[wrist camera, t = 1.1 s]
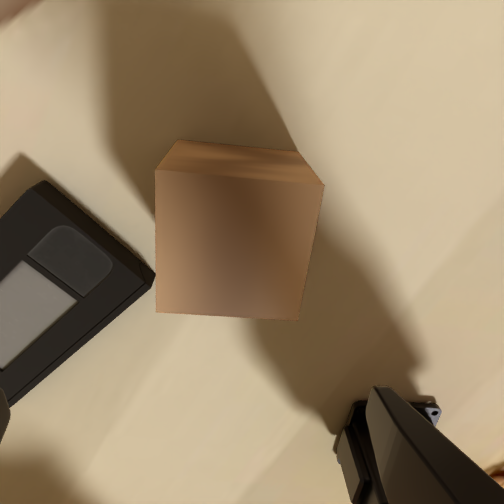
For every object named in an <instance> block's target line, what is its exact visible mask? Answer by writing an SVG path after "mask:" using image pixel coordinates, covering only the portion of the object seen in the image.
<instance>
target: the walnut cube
mask: <svg viewBox="0 0 504 504" xmlns="http://www.w3.org/2000/svg"><path fill="white" fill-rule="evenodd" d="M324 186H325V185H324V184H323V183H322V181H321V180H320V179H319V178H318V176H317V175H316V174H315V172H314V171H313V170H312V169H311V167H310V166H309V165H308V164H307V162H306V161H305V160H304V158H303V157H302V156H301V155H300V153H299V152H295V151H285V150H275V149H266V148H256V147H246V146H236V145H226V144H216V143H206V142H197V141H187V140H177V141H176V142H175V144H174V145H173V146H172V148H171V149H170V150H169V152H168V153H167V154H166V156H165V157H164V158H163V160H162V161H161V162H160V164H159V165H158V166H157V167H156V169H155V245H156V312H159V313H176V314H193V315H210V316H226V317H243V318H260V319H277V320H293V321H298V317H299V312H300V306H301V301H302V296H303V291H304V286H305V281H306V276H307V271H308V266H309V261H310V256H311V251H312V246H313V241H314V236H315V231H316V226H317V221H318V216H319V211H320V206H321V201H322V196H323V191H324Z"/></svg>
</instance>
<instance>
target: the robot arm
mask: <svg viewBox="0 0 504 504" xmlns="http://www.w3.org/2000/svg"><path fill="white" fill-rule="evenodd" d="M441 412H442V411H441V409H440V408H439V406H438V405H437V404H427V403H407V402H406V401H405V400H404V399H403V398H402V397H401V396H400V395H399V394H397V393H396V392H395V391H394V390H393V389H392V388H390V387H389V386H373V387H372V388H371V391H370V395H369V399H368V401H357V402H355V403H354V404H353V405H352V408H351V412H350V415H349V418H348V421H347V424H346V426H345V427H344V428H343V431H342V434H341V437H340V440H339V444H338V447H337V452H338V453H337V456H336V457H337V461H338V463H339V464H341V467H342V471H343V474H344V478H345V482H346V486H347V489H348V493H349V497H350V500H351V503H352V504H504V488H502V487H501V486H500V485H499V484H498V483H497V482H496V481H495V480H494V479H492V478H491V477H490V476H489V475H488V474H487V473H486V472H485V471H483V470H482V469H481V468H480V467H479V466H478V465H477V464H476V463H475V462H473V461H472V460H471V459H470V458H469V457H468V456H467V455H466V454H464V453H463V452H462V451H461V450H460V449H459V448H458V447H457V446H456V445H454V444H453V443H452V442H451V441H450V440H449V439H448V438H447V437H445V436H444V435H443V434H442V433H441V432H440V431H439V430H438V429H437V428H435V426H436V424H437V422H438V419H439V417H440V415H441ZM9 420H10V409H9V406H8V403H7V400H6V397H5V394H4V391H3V390H2V389H1V388H0V443H1V441H2V438H3V436H4V433H5V431H6V428H7V426H8V423H9Z"/></svg>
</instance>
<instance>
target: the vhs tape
mask: <svg viewBox="0 0 504 504" xmlns="http://www.w3.org/2000/svg"><path fill="white" fill-rule="evenodd" d="M155 276H156V274H155V273H154V272H153V271H152V270H151V269H149V268H148V267H147V266H146V265H145V264H144V263H142V262H140V260H139V259H138V258H137V257H136V256H134V255H133V254H132V253H131V252H130V251H129V250H128V249H126V248H125V247H124V246H123V245H122V244H120V243H119V242H118V241H117V240H116V239H115V238H113V237H112V236H111V235H110V234H109V233H108V232H106V231H105V230H104V229H103V228H102V227H101V226H99V225H98V224H97V223H96V222H95V221H94V220H92V219H91V218H90V217H89V216H88V215H87V214H85V213H84V212H83V211H82V210H81V209H79V208H78V207H77V206H76V205H75V204H74V203H72V202H71V201H70V200H69V199H68V198H66V197H65V196H64V195H63V194H62V193H61V192H59V191H58V190H57V189H56V188H55V187H53V186H52V185H51V184H50V183H49V182H47V181H45V180H44V181H41V182H40V183H38V184H36V185H35V186H33V187H31V188H29V189H28V190H27V191H26V192H25V193H24V194H23V195H22V196H21V197H20V198H19V199H18V200H17V201H16V202H15V203H14V205H13V206H12V207H11V208H10V209H9V210H8V211H7V212H6V213H5V214H4V215H3V216H2V218H1V219H0V388H1V389H2V390H3V391H4V394H5V397H6V400H7V403H8V406H9V408H10V407H12V406H13V405H14V404H15V403H16V402H17V401H19V400H20V399H21V398H22V397H23V396H24V395H26V394H27V393H28V392H29V391H30V390H32V389H33V388H34V387H35V386H36V385H37V384H39V383H40V382H41V381H42V380H43V379H44V378H46V377H47V376H48V375H49V374H50V373H52V372H53V371H54V370H55V369H56V368H57V367H59V366H60V365H61V364H62V363H63V362H64V361H66V360H67V359H68V358H69V357H70V356H72V355H73V354H74V353H75V352H76V351H77V350H79V349H80V348H81V347H82V346H83V345H84V344H86V343H87V342H88V341H89V340H90V339H92V338H93V337H94V336H95V335H96V334H97V333H99V332H100V331H101V330H102V329H103V328H104V327H106V326H107V325H108V324H109V323H110V322H112V321H113V320H114V319H115V318H116V317H117V316H119V315H120V314H121V313H122V312H123V311H124V310H126V309H127V308H128V307H129V306H130V305H132V304H133V303H134V302H135V301H136V300H137V299H139V298H140V297H141V296H142V295H143V294H144V293H146V292H147V291H148V290H149V289H150V288H151V287H152V284H153V281H154V279H155Z"/></svg>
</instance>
